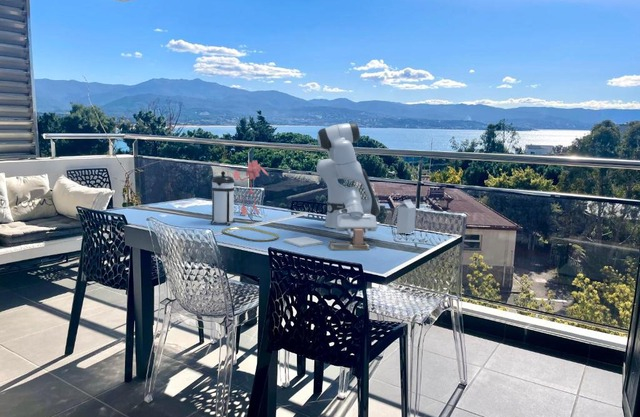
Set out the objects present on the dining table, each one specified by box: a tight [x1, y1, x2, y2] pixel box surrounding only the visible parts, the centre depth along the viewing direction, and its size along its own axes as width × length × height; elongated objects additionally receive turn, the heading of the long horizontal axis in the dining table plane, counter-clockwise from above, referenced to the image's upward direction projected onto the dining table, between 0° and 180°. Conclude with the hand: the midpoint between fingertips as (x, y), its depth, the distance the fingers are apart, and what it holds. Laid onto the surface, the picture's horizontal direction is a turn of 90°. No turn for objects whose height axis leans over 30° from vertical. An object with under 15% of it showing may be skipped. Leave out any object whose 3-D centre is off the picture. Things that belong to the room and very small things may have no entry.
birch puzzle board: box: [327, 240, 370, 251], centre depth 235 cm, size 9×18×3 cm, turn 99°
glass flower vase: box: [233, 160, 269, 218], centre depth 310 cm, size 15×26×35 cm, turn 140°
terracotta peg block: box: [352, 229, 365, 245], centre depth 235 cm, size 4×4×9 cm
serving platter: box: [222, 226, 280, 242], centre depth 255 cm, size 19×35×2 cm, turn 48°
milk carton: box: [396, 198, 417, 234], centre depth 272 cm, size 7×7×19 cm
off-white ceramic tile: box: [282, 236, 324, 248], centre depth 242 cm, size 14×14×1 cm
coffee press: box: [210, 171, 236, 226], centre depth 281 cm, size 17×16×30 cm
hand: (358, 237), depth 234 cm, fingers open, 5 cm apart
